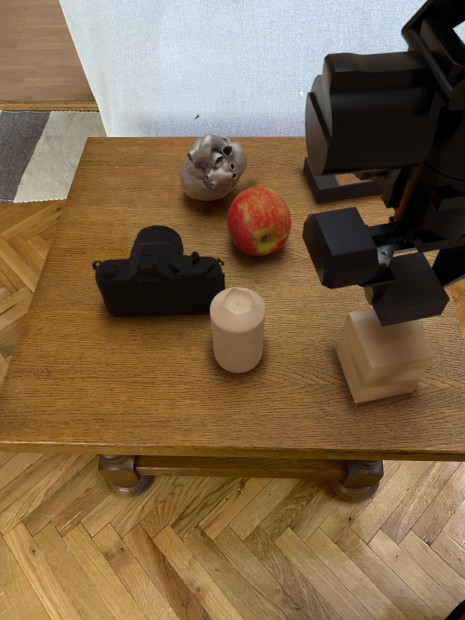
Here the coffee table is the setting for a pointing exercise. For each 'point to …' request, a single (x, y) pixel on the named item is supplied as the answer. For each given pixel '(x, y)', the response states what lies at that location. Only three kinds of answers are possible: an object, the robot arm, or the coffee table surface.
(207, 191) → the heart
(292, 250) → the coffee table surface
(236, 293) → the candle
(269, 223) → the apple
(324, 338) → the coffee table surface
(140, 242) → the film camera
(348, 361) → the beige wooden block
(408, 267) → the black block
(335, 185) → the black tray
